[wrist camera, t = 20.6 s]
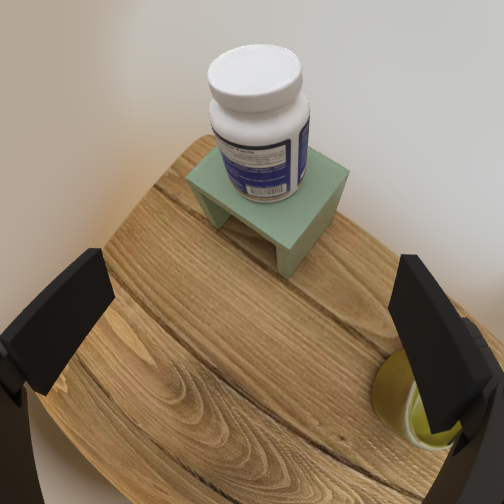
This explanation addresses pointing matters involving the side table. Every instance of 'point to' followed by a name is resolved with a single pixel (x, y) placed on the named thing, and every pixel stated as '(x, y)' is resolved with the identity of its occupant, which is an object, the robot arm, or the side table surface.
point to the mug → (405, 405)
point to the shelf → (274, 205)
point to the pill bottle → (260, 120)
